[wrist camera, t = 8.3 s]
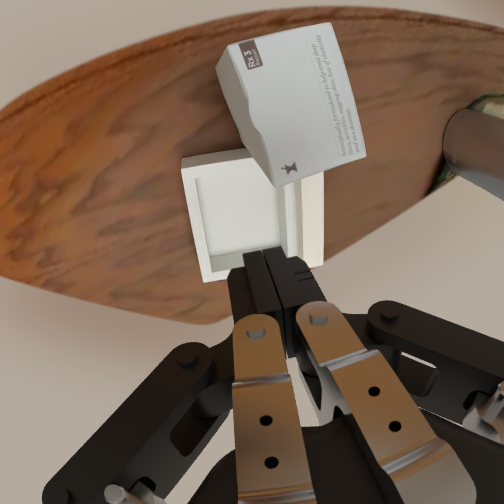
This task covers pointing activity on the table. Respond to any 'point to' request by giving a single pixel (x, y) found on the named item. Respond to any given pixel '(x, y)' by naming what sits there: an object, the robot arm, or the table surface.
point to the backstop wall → (310, 219)
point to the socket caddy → (235, 210)
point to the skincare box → (292, 102)
